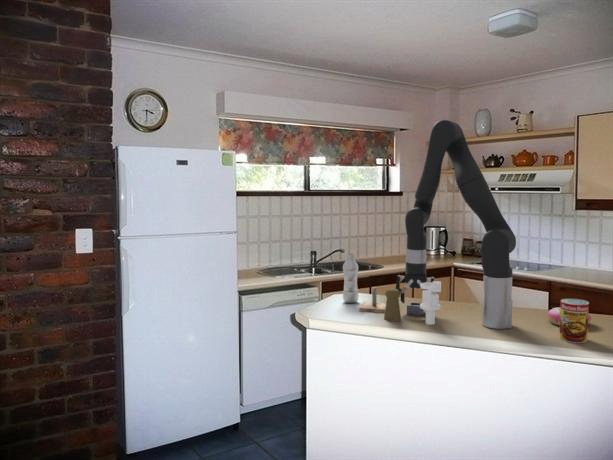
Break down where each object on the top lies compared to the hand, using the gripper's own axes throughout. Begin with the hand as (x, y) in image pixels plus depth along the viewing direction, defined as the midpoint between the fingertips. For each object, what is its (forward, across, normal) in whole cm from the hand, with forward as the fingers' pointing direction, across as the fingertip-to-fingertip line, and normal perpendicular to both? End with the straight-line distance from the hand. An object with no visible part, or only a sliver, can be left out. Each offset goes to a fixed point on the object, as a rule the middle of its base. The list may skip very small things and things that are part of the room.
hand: (414, 303), depth 199 cm
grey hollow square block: (+4, 0, 0) cm, 4 cm away
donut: (+3, -52, +1) cm, 53 cm away
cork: (+4, +7, +11) cm, 13 cm away
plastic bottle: (+4, +27, -10) cm, 29 cm away
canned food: (+3, -50, +20) cm, 54 cm away
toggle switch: (+4, +16, -2) cm, 16 cm away
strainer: (+4, -6, +13) cm, 15 cm away
